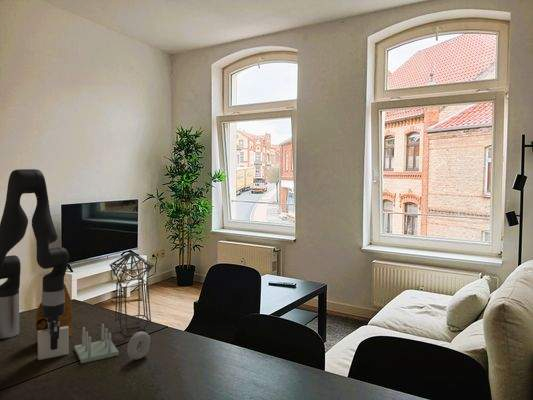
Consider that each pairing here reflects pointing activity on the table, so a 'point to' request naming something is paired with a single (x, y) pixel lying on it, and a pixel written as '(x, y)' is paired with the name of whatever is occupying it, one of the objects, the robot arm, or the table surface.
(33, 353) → the table surface
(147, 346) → the donut
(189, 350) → the table surface
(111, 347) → the dish rack
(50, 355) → the off-white rectangular prism
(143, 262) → the geometric lantern
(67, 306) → the coffee package
